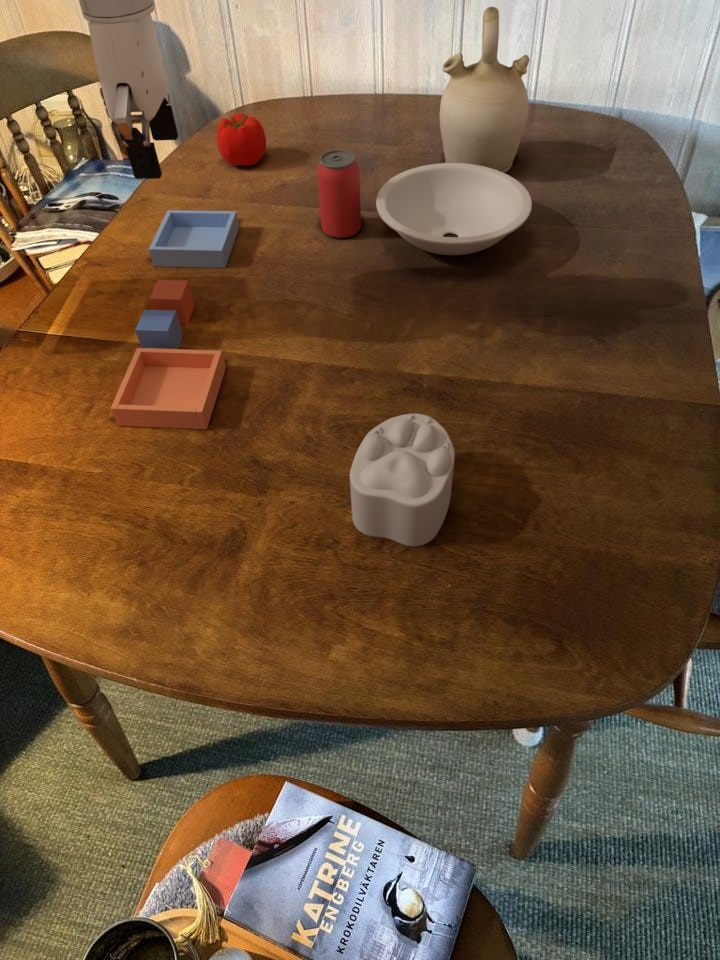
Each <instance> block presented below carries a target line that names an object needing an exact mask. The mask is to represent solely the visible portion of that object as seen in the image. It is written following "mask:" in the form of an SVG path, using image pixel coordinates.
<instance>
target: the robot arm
mask: <svg viewBox="0 0 720 960" xmlns="http://www.w3.org/2000/svg"><path fill="white" fill-rule="evenodd" d="M78 2H79V3H78V4H79V7H80V10H81V13H82V17H83V19H84V20H86V21H87V22H88V29H89V37H90V41H91V43H90V44H91V47H92V53H93V59H94V62H95V66H96V71H97V76H98V78H99V83H100V88H101V90H102V94H103V99H104V102H105V106H106V110H107V112H108V116H109V119H110V120H111V121H112V122H113V123H115V126H116V127H117V129H118V132H119V137H120V138H121V140H122V143H123V146H124V147H125V149H126V150H125V151H126V153H127V157H128V160H129V163H130V166H131V171H132V174H133V177H134V178H135V179H136V180H157V179H161V178H162V175H163V172H162V168H161V164H160V161H159V156H158V154H157V153H158V152H157V149H156V146H155V142H151V137H152V140H153V141H176V140H178V139H179V132H178V128H177V125H176V119H175V115H174V111H173V107H172V105H171V96H170V94H169V92H168V85H169V84H168V78H167V72H166V67H165V63H164V58H163V53H162V49H161V46H160V42H159V38H158V35H157V31H156V28H155V24H154V20H153V17H152V13H153V12H154V11H155V9H156V4H155V0H78ZM132 113H141V114H132ZM137 124H140V127H141V131H140V130H139V129H138V128H137V127H134V125H137Z"/></svg>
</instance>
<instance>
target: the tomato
mask: <svg viewBox="0 0 720 960" xmlns="http://www.w3.org/2000/svg"><path fill="white" fill-rule="evenodd" d="M229 116H230V118H221V120H220V122H218V123H219V124H218V126H217V130H216V146H217V149H218V152H219V154H220V156H221V158H222V160H223V161H225V163H227V164H229V165H232V166H237V167H238V166H245V167H249V166H253V165H255V164H257V163H259V162H260V160H261V158H262V157H263V156H264V155H265V153H266V150H267V137H266V133H265V129H264V127H263V125H262V123H261V122H260V121H259V120H258V119H257V118H256V117H254V116H249V115H248V114H246V113H235V114H233V115H231V114H229Z"/></svg>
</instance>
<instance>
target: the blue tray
mask: <svg viewBox="0 0 720 960" xmlns="http://www.w3.org/2000/svg"><path fill="white" fill-rule="evenodd" d="M239 230H240V225H239V219H238V214H237V211H236V210H232V211H231V210H190V209H189V210H184V209H183V210H182V209H181V210H180V209H179V210H178V209H167V211H166V213H165V214H164V217H163V219H162V221H161V223H160V225H159V227H158V229H157V231H156V233H155V235H154V237H153V240H152V242H151V243H150V245H149V247H148V252H149V255H150V259H151V262H152V266H153V267H163V268H165V267H166V268H168V267H170V268H206V269H207V268H212V269H213V268H215V269H221V268H222V269H226V267H227V263H228V262H229V259H230V256H231V252H232V249H233V248H234V244H235V242H236V238H237V235H238V233H239Z"/></svg>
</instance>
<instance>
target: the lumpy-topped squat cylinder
mask: <svg viewBox="0 0 720 960" xmlns="http://www.w3.org/2000/svg"><path fill="white" fill-rule="evenodd" d="M455 460H456V453H455V448H454V445H453V443H452V440H451V438H450V435H449V434H448V432H447V430H446V429H445V427H443V425H441V424H440V423H439V422H438V421H437V420H435V419H434V418H433V417H431V416H429V415H426V414H422V413H406V414H400V415H396V416H394V417H390V418H388V419H386V420H384V421H382V422H381V423H380V424H378V425H376V426H374V427H373V428H372V429H370V430H369V431H368V433H367V434H366V435H365V436H364V438H363V439H362V441H361V443H360V444H359V446H358V448H357V450H356V452H355V455H354V459H353V461H352V464H351V467H350V471H349V485H350V487H349V488H350V503H351V504H350V505H351V518H352V522H353V525H354V527H355V528H356V530H357V531H359V532H360V533H361V532H362V533H361V534H363V535H366V536H369V537H375V538H383V539H388V540H391V541H394V542H396V543H399V544H400V545H404V546H408V547H421V546H424V545H426V544H428V543H430V542H431V541H432V540H434V538H435V537H436V536H437V535H438V533H439V531H440V530H441V528H442V525H443V524H444V521H445V519H446V516H447V513H448V510H449V508H450V507H449V506H450V502H451V498H452V488H453V477H454V468H455Z"/></svg>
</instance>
